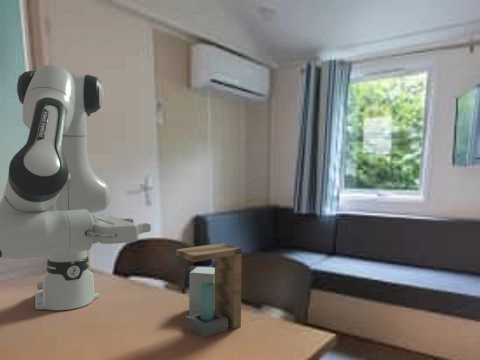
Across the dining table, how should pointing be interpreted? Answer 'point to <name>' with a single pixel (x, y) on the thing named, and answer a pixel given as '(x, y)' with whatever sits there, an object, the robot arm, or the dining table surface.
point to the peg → (207, 302)
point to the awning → (222, 277)
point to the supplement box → (199, 286)
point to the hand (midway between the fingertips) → (140, 224)
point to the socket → (207, 324)
